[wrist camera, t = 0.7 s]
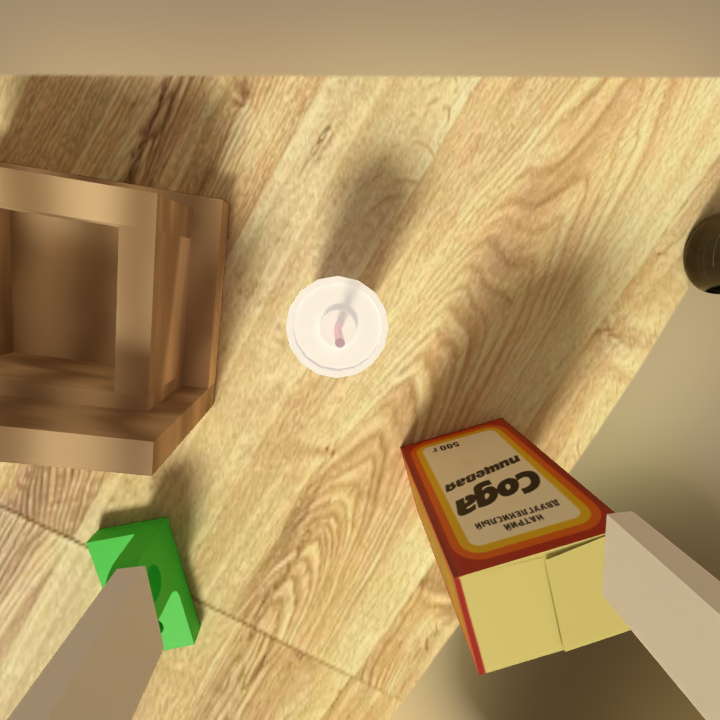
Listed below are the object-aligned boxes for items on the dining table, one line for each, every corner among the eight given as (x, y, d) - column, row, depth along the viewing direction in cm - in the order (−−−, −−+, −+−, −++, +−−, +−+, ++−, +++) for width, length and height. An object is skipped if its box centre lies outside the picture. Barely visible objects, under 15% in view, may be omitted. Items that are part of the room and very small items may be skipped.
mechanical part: (99, 527, 35) (35, 600, 28) (168, 515, 36) (123, 583, 28) (137, 637, 38) (88, 732, 30) (201, 625, 38) (168, 715, 30)
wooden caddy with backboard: (-21, 377, 32) (-227, 439, 20) (-31, 160, 28) (-283, 82, 17) (213, 404, 33) (151, 475, 22) (229, 204, 30) (167, 161, 19)
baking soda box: (417, 509, 37) (481, 681, 22) (400, 447, 36) (456, 584, 20) (515, 481, 37) (649, 631, 22) (502, 417, 36) (636, 530, 20)
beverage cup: (356, 263, 32) (377, 256, 18) (383, 333, 33) (421, 376, 20) (285, 291, 32) (252, 306, 18) (314, 361, 33) (305, 422, 20)
